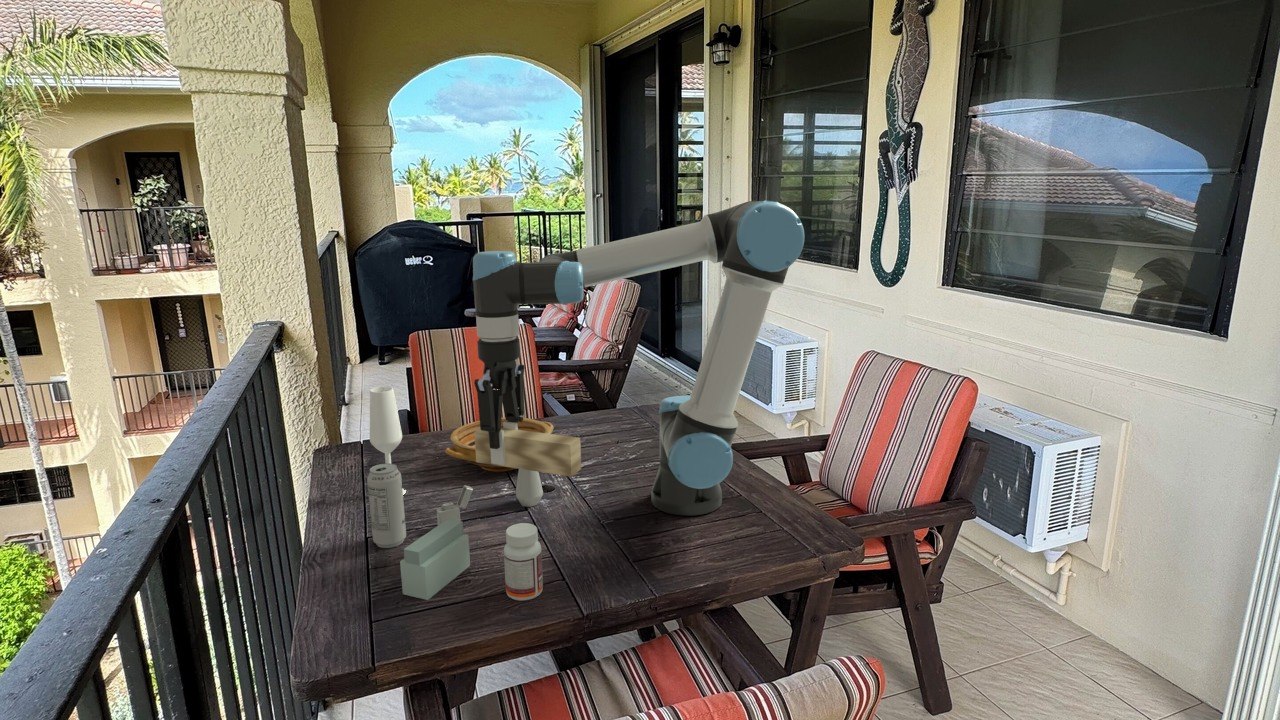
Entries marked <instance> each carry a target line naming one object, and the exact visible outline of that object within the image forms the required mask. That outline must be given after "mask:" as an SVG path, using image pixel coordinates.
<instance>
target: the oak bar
mask: <svg viewBox="0 0 1280 720" xmlns="http://www.w3.org/2000/svg"><path fill="white" fill-rule="evenodd" d="M501 430H504V439H505V457H506V464H505V465H499V464H492V463H491V451H490V444H489V432H488V431H482V430H481V429H479V430H477V431H475V432H474V434H475V450H476V462H478V463H485V464H491V465H498V466H504V467H511V468H517V469H518V470H519V469H524V470H531V471H537V472H540V473H544V474H552V475H557V476H565V477H569V478H571V477H573V476H574V475H576V474H577V473H578V472H579V471H580V470H582V455H581V454H582V452H581V451H582V450H581V449H582V448H581V445H582V444H581V437H579V436H578V437H575V436H569V435H561V434H555V433H554V434H553V433H551V434H547V433H539V432H532V431H524V430H515V429H508V428H501Z"/></svg>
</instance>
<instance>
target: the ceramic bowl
mask: <svg viewBox="0 0 1280 720" xmlns="http://www.w3.org/2000/svg"><path fill="white" fill-rule="evenodd" d="M505 421H507V422H508V420H506V418H505V417H502V421H501V428H503V422H505ZM479 429H480V420H477V421H473V422H470V423H466V424H463V425H462V426H460V427H457V428H456V429H455V430H453V432H452V433H451V434H450V436H449V439H450V442H452V447H447V448H445V450H444V452H445V454H446V455H449V456H451V457H453V458H455V459H461V460H463V461H465V462H468V463H470V464H472V465H473V464H474V465H477V466H480V468H481V469H483V470H486V471H490V472H509V471H513V469H514V470H517V469H518V468H511V467H504V466H498V465H491V464H485V463H478V462H476V450H475V434H474V432H475V431H477V430H479ZM518 430H524V431H532V432H539V433H547V434H553V431H554V425H553V424H552V423H551V422H549V421H540V420H537V419H533V418H526V417H523V421H522V422H518ZM508 470H509V471H508Z"/></svg>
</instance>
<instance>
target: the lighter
mask: <svg viewBox="0 0 1280 720" xmlns="http://www.w3.org/2000/svg"><path fill="white" fill-rule="evenodd" d="M473 491H474V489H473V487H471V486H470V485H465V484H464V485H463V486H462V489H461V492H460V494H459V497H458V500H457V503H456V504H454V503H453V502H452V501H449V502H446V503H442V505H441V506H440V508H438V509H436V518H437V519H436V520H437V526H438V525H440V524H441V523H443V522H444V521H446V520H447V519H453V520H458V521H461V511H460V508H462V509H466V508H467V505H468V504H469V501H470V498H471V495H472V494H473Z"/></svg>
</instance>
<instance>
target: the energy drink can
mask: <svg viewBox="0 0 1280 720" xmlns="http://www.w3.org/2000/svg"><path fill="white" fill-rule="evenodd" d="M402 480H403V479H402V473H401V472H400V471H399V470H398V466H397V464H394V463H391V464H390V463H386V462H385V463H380V464H376V465H373V466H372V467H371V468H369V473H368V476H367V478H366V481H367V490H368V491H367V492H368V501H369V502H368V503H369V512H370V522H371V532H372V534H371V535H372V541H373V543H374V544H376V546H377V547H378V548H382V549H391V548H395V547H398V546H400V545H402V544H403V542H404V540H405V539H406V537H407V528H406V516H405V514H406V513H405V506H404V505H405V504H404V496H403V491H402V489H403V484H402V483H403V481H402Z"/></svg>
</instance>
